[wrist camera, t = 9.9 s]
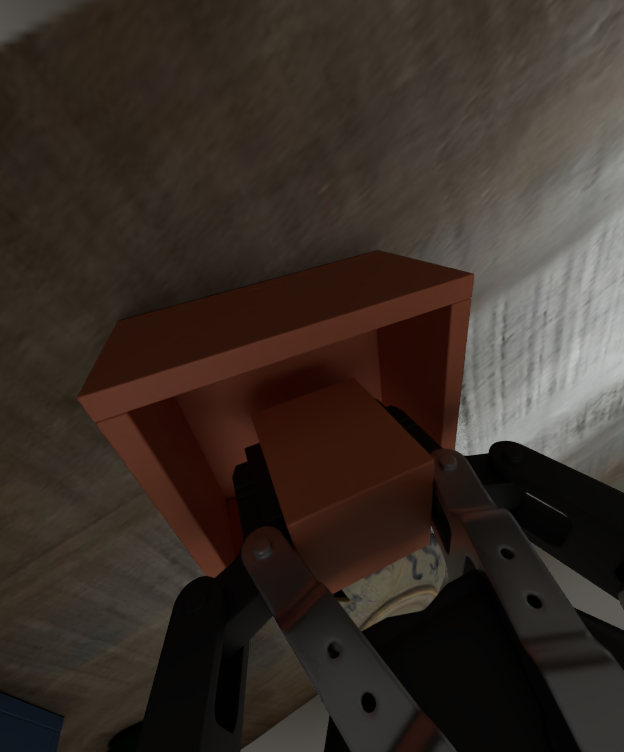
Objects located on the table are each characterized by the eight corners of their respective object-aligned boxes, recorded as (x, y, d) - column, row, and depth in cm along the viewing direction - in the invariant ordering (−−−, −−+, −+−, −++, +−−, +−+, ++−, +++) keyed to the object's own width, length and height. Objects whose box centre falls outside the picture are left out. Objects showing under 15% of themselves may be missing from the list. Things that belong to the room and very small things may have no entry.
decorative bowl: (406, 608, 37) (467, 519, 31) (426, 644, 34) (498, 554, 28) (289, 641, 30) (337, 537, 25) (300, 690, 27) (359, 585, 22)
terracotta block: (250, 413, 12) (287, 526, 8) (354, 376, 13) (436, 459, 9) (276, 487, 14) (315, 604, 10) (362, 451, 15) (430, 545, 11)
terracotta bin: (116, 320, 12) (75, 398, 7) (378, 249, 15) (475, 273, 10) (216, 502, 18) (228, 608, 14) (388, 431, 21) (449, 500, 16)
